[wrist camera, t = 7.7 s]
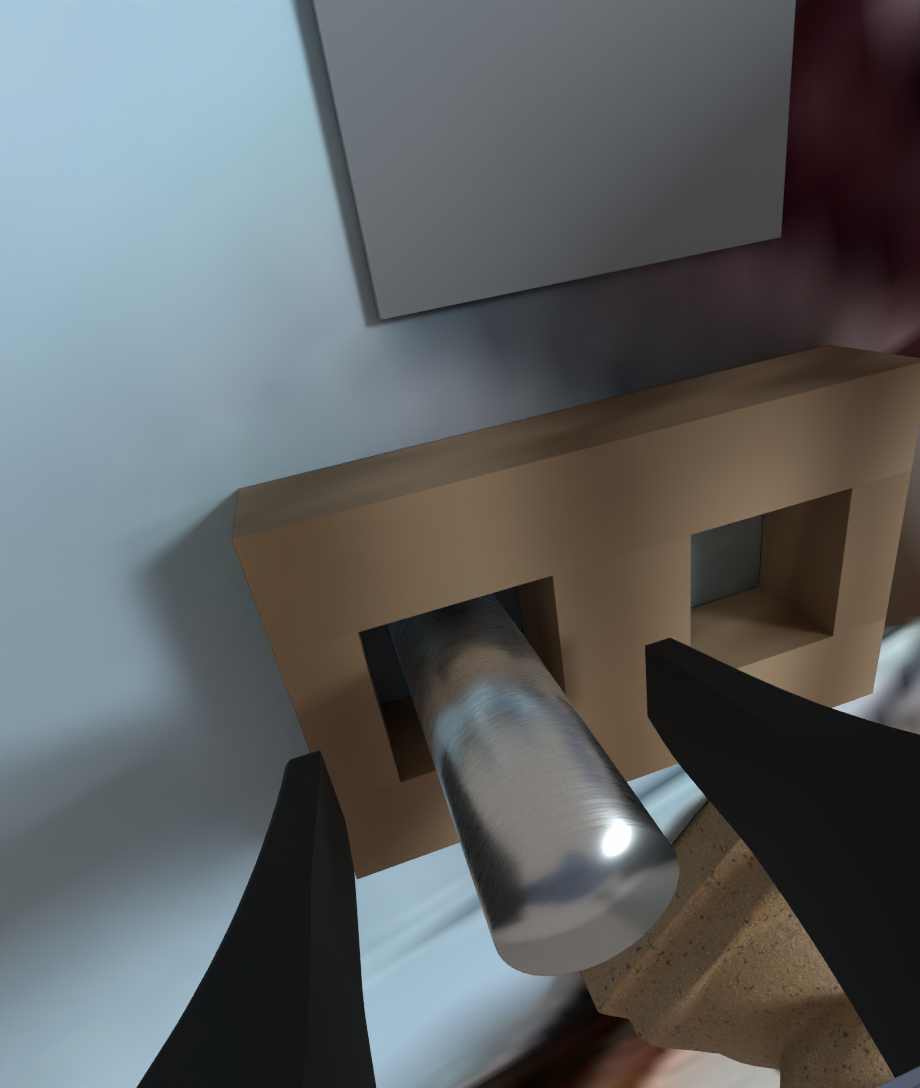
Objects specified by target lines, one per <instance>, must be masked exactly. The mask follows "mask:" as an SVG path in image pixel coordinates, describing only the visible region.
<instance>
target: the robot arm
mask: <svg viewBox="0 0 920 1088" xmlns="http://www.w3.org/2000/svg"><path fill="white" fill-rule="evenodd" d="M645 663H646V691H647V717H648V718H649V720H650V721H651V723H652V725H653V726H654V728H655V729H656V731H657V733H658V734H659V736H660V738H661V739H662V741H663V742H664V744H665V745H666V747H667V748H668V750H669V751H670V753H671V754H672V756H673V757H674V758H675V760H676V761H677V762H678V763H679V765H680V766H681V767H682V768H683V769H684V771H685V772H686V773H687V774H688V775H689V777H690V778H691V779H692V780H693V782H694V783H695V784H696V785H697V786H698V788H699V789H700V790H701V791H702V792H703V794H704V795H705V796H706V797H707V798H708V800H709V801H710V802H711V803H712V804H713V805H714V807H715V808H716V809H717V810H718V811H719V813H720V814H721V815H722V816H723V817H724V819H725V820H726V821H727V822H728V823H729V825H730V826H731V827H732V828H733V829H734V831H735V832H736V833H737V834H738V835H739V837H740V838H741V839H742V840H743V841H744V843H745V844H746V845H747V847H748V848H749V849H750V851H751V852H752V853H753V854H754V856H755V857H756V858H757V860H758V861H759V863H760V864H761V865H762V867H763V868H764V870H765V871H766V873H767V874H768V876H769V877H770V879H771V880H772V881H773V883H774V884H775V886H776V887H777V889H778V890H779V892H780V893H781V894H782V896H783V897H784V899H785V900H786V902H787V903H788V905H789V906H790V908H791V909H792V911H793V912H794V914H795V915H796V917H797V919H798V920H799V922H800V923H801V925H802V926H803V928H804V929H805V931H806V932H807V934H808V935H809V937H810V938H811V940H812V941H813V943H814V944H815V946H816V948H817V949H818V951H819V952H820V954H821V955H822V957H823V959H824V960H825V962H826V964H827V965H828V967H829V968H830V970H831V972H832V973H833V975H834V976H835V978H836V980H837V981H838V983H839V984H840V986H841V988H842V989H843V991H844V993H845V994H846V996H847V997H848V999H849V1001H850V1002H851V1004H852V1005H853V1007H854V1009H855V1011H856V1012H857V1014H858V1016H859V1017H860V1019H861V1021H862V1023H863V1024H864V1026H865V1028H866V1029H867V1031H868V1033H869V1034H870V1036H871V1038H872V1040H873V1041H874V1043H875V1045H876V1046H877V1048H878V1050H879V1052H880V1053H881V1055H882V1057H883V1058H884V1060H885V1062H886V1063H887V1065H888V1067H889V1069H890V1071H891V1072H892V1074H893V1076H894V1079H892V1080H890V1081H888V1082H886V1083H884V1084H882V1085H880V1086H878V1087H876V1088H920V735H919V734H915V733H911V732H907V731H904V730H900V729H896V728H892V727H889V726H885V725H882V724H878V723H875V722H872V721H869V720H866V719H862V718H859V717H856V716H853V715H850V714H847V713H844V712H841V711H838V710H835V709H832V708H829V707H827V706H824V705H821V704H818V703H816V702H813V701H811V700H808V699H806V698H803V697H801V696H798V695H796V694H793V693H791V692H788V691H786V690H783V689H781V688H779V687H776V686H774V685H771V684H769V683H767V682H765V681H762V680H760V679H758V678H756V677H753V676H751V675H749V674H747V673H745V672H742V671H740V670H738V669H736V668H734V667H732V666H730V665H727V664H725V663H723V662H721V661H719V660H717V659H715V658H713V657H711V656H709V655H706V654H704V653H702V652H700V651H698V650H696V649H694V648H692V647H690V646H688V645H685V644H683V643H681V642H679V641H677V640H674V639H672V638H667V639H664V640H661V641H657V642H654V643H651V644H648V645H645ZM137 1088H376V1083H375V1077H374V1070H373V1064H372V1057H371V1051H370V1044H369V1038H368V1031H367V1025H366V1018H365V1010H364V1001H363V991H362V978H361V962H360V947H359V932H358V917H357V902H356V888H355V874H354V866H353V860H352V854H351V848H350V843H349V837H348V832H347V826H346V821H345V818H344V815H343V812H342V809H341V807H340V804H339V801H338V798H337V795H336V793H335V790H334V787H333V784H332V782H331V779H330V776H329V773H328V770H327V768H326V765H325V762H324V759H323V756H322V754H321V751H320V750H319V751H316V752H313V753H309V754H306V755H303V756H300V757H297V758H294V759H291V760H289V762H288V763H287V765H286V768H285V772H284V777H283V781H282V784H281V788H280V792H279V796H278V799H277V803H276V806H275V809H274V812H273V816H272V819H271V822H270V825H269V828H268V831H267V834H266V836H265V839H264V842H263V845H262V848H261V851H260V854H259V856H258V859H257V862H256V864H255V867H254V869H253V872H252V874H251V877H250V879H249V882H248V884H247V886H246V889H245V891H244V894H243V896H242V899H241V901H240V903H239V906H238V908H237V910H236V912H235V915H234V917H233V919H232V921H231V923H230V926H229V928H228V930H227V932H226V934H225V936H224V938H223V940H222V942H221V944H220V946H219V948H218V950H217V952H216V954H215V956H214V958H213V960H212V962H211V964H210V966H209V968H208V970H207V971H206V973H205V975H204V977H203V979H202V981H201V982H200V984H199V986H198V988H197V990H196V992H195V993H194V995H193V997H192V999H191V1001H190V1002H189V1004H188V1006H187V1008H186V1009H185V1011H184V1013H183V1015H182V1016H181V1018H180V1020H179V1021H178V1023H177V1025H176V1026H175V1028H174V1030H173V1031H172V1033H171V1034H170V1036H169V1038H168V1039H167V1041H166V1042H165V1044H164V1045H163V1047H162V1049H161V1050H160V1052H159V1053H158V1055H157V1056H156V1058H155V1060H154V1061H153V1063H152V1064H151V1066H150V1067H149V1069H148V1071H147V1072H146V1074H145V1075H144V1077H143V1078H142V1080H141V1082H140V1083H139V1085H138V1086H137Z"/></svg>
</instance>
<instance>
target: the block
mask: <svg viewBox="0 0 920 1088" xmlns="http://www.w3.org/2000/svg"><path fill="white" fill-rule="evenodd" d="M919 423H920V358H914V357H907V356H900V355H893V354H887V353H880V352H873V351H866V350H860V349H853V348H846V347H840V346H833V345H826V346H822V347H818V348H814V349H810V350H806V351H802V352H797V353H793V354H789V355H785V356H781V357H777V358H773V359H769V360H765V361H761V362H757V363H752V364H748V365H744V366H740V367H736V368H732V369H728V370H724V371H720V372H716V373H712V374H707V375H703V376H699V377H695V378H691V379H687V380H683V381H679V382H675V383H671V384H666V385H662V386H658V387H654V388H650V389H646V390H642V391H638V392H634V393H630V394H626V395H621V396H617V397H613V398H609V399H605V400H601V401H597V402H593V403H589V404H585V405H581V406H576V407H572V408H568V409H564V410H560V411H556V412H552V413H548V414H544V415H540V416H535V417H531V418H527V419H523V420H519V421H515V422H511V423H507V424H503V425H499V426H495V427H490V428H486V429H482V430H478V431H474V432H470V433H466V434H462V435H458V436H454V437H450V438H445V439H441V440H437V441H433V442H429V443H425V444H421V445H417V446H413V447H409V448H405V449H400V450H396V451H392V452H388V453H384V454H380V455H376V456H372V457H368V458H364V459H359V460H355V461H351V462H347V463H343V464H339V465H335V466H331V467H327V468H323V469H319V470H314V471H310V472H306V473H302V474H298V475H294V476H290V477H286V478H282V479H278V480H274V481H269V482H265V483H261V484H257V485H253V486H249V487H245V488H241V489H239V492H238V499H237V506H236V513H235V520H234V527H233V534H232V542H233V545H234V548H235V550H236V553H237V556H238V558H239V561H240V564H241V566H242V569H243V572H244V575H245V577H246V580H247V583H248V585H249V588H250V591H251V594H252V596H253V599H254V602H255V604H256V607H257V610H258V612H259V615H260V618H261V621H262V623H263V626H264V629H265V631H266V634H267V637H268V639H269V642H270V645H271V648H272V650H273V653H274V656H275V658H276V661H277V664H278V666H279V669H280V672H281V675H282V677H283V680H284V683H285V685H286V688H287V691H288V694H289V696H290V699H291V702H292V704H293V707H294V710H295V712H296V715H297V718H298V721H299V723H300V726H301V729H302V731H303V734H304V737H305V739H306V742H307V745H308V748H309V750H310V753H313V752H316V751H319V750H320V751H321V754H322V756H323V759H324V762H325V765H326V768H327V770H328V773H329V776H330V779H331V782H332V784H333V787H334V790H335V793H336V795H337V798H338V801H339V804H340V807H341V809H342V812H343V815H344V818H345V821H346V826H347V832H348V837H349V843H350V848H351V854H352V860H353V866H354V872H355V875H356V877H357V879H359V878H362V877H365V876H368V875H371V874H373V873H376V872H379V871H382V870H384V869H387V868H390V867H393V866H395V865H398V864H401V863H404V862H407V861H409V860H412V859H415V858H418V857H420V856H423V855H426V854H429V853H431V852H434V851H437V850H440V849H443V848H445V847H448V846H451V845H454V844H456V843H459V842H460V840H459V837H458V834H457V832H456V829H455V826H454V823H453V820H452V817H451V814H450V811H449V808H448V805H447V802H446V799H445V796H444V793H443V790H442V787H441V784H440V781H439V778H438V775H437V772H436V769H435V766H434V763H433V760H432V757H431V754H430V751H429V748H428V745H427V742H426V739H425V736H424V733H423V730H422V727H421V724H420V721H419V718H418V715H417V712H416V709H415V706H414V703H413V700H412V697H408V698H405V699H402V700H398V701H395V702H392V703H389V704H386V705H382V706H381V702H380V699H379V695H378V692H377V688H376V685H375V681H374V678H373V674H372V671H371V668H370V664H369V661H368V657H367V654H366V650H365V647H364V643H363V640H362V636H361V633H360V632H361V631H364V630H368V629H371V628H375V627H378V626H381V625H385V624H388V623H392V622H395V621H399V620H402V619H405V618H409V617H412V616H416V615H419V614H423V613H426V612H429V611H433V610H436V609H440V608H443V607H446V606H450V605H453V604H457V603H460V602H464V601H467V600H470V599H474V598H477V597H481V596H484V595H487V594H491V593H494V592H498V591H501V590H505V589H508V588H511V587H515V586H517V591H518V598H519V605H520V612H521V619H522V626H523V633H524V637H525V638H526V640H527V641H528V643H529V644H530V645H531V647H532V648H533V650H534V651H535V653H536V654H537V655H538V657H539V658H540V660H541V661H542V662H543V664H544V665H545V667H546V668H547V670H548V671H549V672H550V674H551V675H552V677H553V678H554V680H555V681H556V682H557V684H558V685H559V687H560V688H561V689H562V691H563V692H564V694H565V695H566V697H567V698H568V699H569V701H570V702H571V704H572V705H573V707H574V708H575V709H576V711H577V712H578V714H579V715H580V716H581V718H582V719H583V721H584V722H585V724H586V725H587V726H588V728H589V729H590V731H591V732H592V734H593V735H594V736H595V738H596V739H597V741H598V742H599V743H600V745H601V746H602V748H603V749H604V751H605V752H606V753H607V755H608V756H609V758H610V759H611V761H612V762H613V763H614V765H615V766H616V768H617V769H618V770H619V772H620V773H621V775H622V776H623V778H624V779H625V780H626V782H628V781H631V780H634V779H636V778H639V777H642V776H645V775H647V774H650V773H653V772H656V771H658V770H661V769H664V768H667V767H669V766H672V765H675V764H678V762H677V761H676V760H675V758H674V757H673V756H672V754H671V753H670V751H669V750H668V748H667V747H666V745H665V744H664V742H663V741H662V739H661V738H660V736H659V734H658V733H657V731H656V729H655V728H654V726H653V725H652V723H651V721H650V720H649V718H648V717H647V691H646V663H645V645H648V644H651V643H654V642H657V641H661V640H664V639H667V638H672V639H674V640H677V641H679V642H681V643H683V644H685V645H688V646H690V647H692V648H694V649H696V650H698V651H700V652H702V653H704V654H706V655H709V656H711V657H713V658H715V659H717V660H719V661H721V662H723V663H725V664H727V665H730V666H732V667H734V668H736V669H738V670H740V671H742V672H745V673H747V674H749V675H751V676H753V677H756V678H758V679H760V680H762V681H765V682H767V683H769V684H771V685H774V686H776V687H779V688H781V689H783V690H786V691H788V692H791V693H793V694H796V695H798V696H801V697H803V698H806V699H808V700H811V701H813V702H816V703H818V704H821V705H824V706H827V707H829V708H833V707H836V706H838V705H841V704H844V703H847V702H849V701H852V700H855V699H858V698H860V697H863V696H866V695H869V694H872V693H873V688H874V682H875V676H876V670H877V665H878V659H879V653H880V647H881V642H882V636H883V630H884V624H885V619H886V613H887V607H888V601H889V595H890V590H891V584H892V578H893V572H894V567H895V560H896V555H897V549H898V544H899V537H900V532H901V526H902V521H903V515H904V509H905V503H906V498H907V492H908V486H909V480H910V474H911V469H912V463H913V457H914V451H915V445H916V440H917V434H918V428H919ZM761 514H764V519H763V535H762V551H761V567H760V583H759V587H757V588H754V589H751V590H748V591H744V592H741V593H738V594H735V595H732V596H729V597H725V598H722V599H719V600H716V601H713V602H709V603H706V604H703V605H700V606H697V607H694V608H691V535H693V534H696V533H699V532H703V531H706V530H710V529H713V528H717V527H720V526H723V525H727V524H730V523H734V522H737V521H741V520H744V519H747V518H751V517H754V516H758V515H761Z"/></svg>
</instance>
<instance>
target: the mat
mask: <svg viewBox="0 0 920 1088" xmlns="http://www.w3.org/2000/svg"><path fill="white" fill-rule="evenodd" d="M312 5H313V10H314V15H315V19H316V24H317V29H318V34H319V38H320V43H321V48H322V52H323V57H324V62H325V67H326V71H327V76H328V81H329V85H330V90H331V95H332V100H333V104H334V109H335V114H336V118H337V123H338V128H339V133H340V137H341V142H342V147H343V152H344V156H345V161H346V166H347V170H348V175H349V180H350V185H351V189H352V194H353V199H354V203H355V208H356V213H357V218H358V222H359V227H360V232H361V236H362V241H363V246H364V251H365V255H366V260H367V265H368V270H369V274H370V279H371V284H372V288H373V293H374V298H375V303H376V307H377V312H378V317H379V319H381V320H382V319H387V318H392V317H397V316H402V315H406V314H411V313H416V312H421V311H426V310H431V309H435V308H440V307H445V306H450V305H455V304H460V303H464V302H469V301H474V300H479V299H484V298H489V297H494V296H498V295H503V294H508V293H513V292H518V291H523V290H527V289H532V288H537V287H542V286H547V285H552V284H556V283H561V282H566V281H571V280H576V279H581V278H586V277H590V276H595V275H600V274H605V273H610V272H615V271H619V270H624V269H629V268H634V267H639V266H644V265H648V264H653V263H658V262H663V261H668V260H673V259H678V258H682V257H687V256H692V255H697V254H702V253H707V252H711V251H716V250H721V249H726V248H731V247H736V246H740V245H745V244H750V243H755V242H760V241H765V240H770V239H774V238H779V237H781V230H782V214H783V198H784V182H785V166H786V150H787V133H788V117H789V101H790V85H791V69H792V53H793V37H794V21H795V5H796V0H312Z"/></svg>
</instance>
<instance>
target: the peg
mask: <svg viewBox="0 0 920 1088" xmlns="http://www.w3.org/2000/svg"><path fill="white" fill-rule="evenodd" d="M388 627H389V631H390V634H391V637H392V640H393V643H394V646H395V649H396V652H397V655H398V658H399V661H400V664H401V667H402V670H403V673H404V676H405V679H406V682H407V685H408V688H409V691H410V694H411V697H412V700H413V703H414V706H415V709H416V712H417V715H418V718H419V721H420V724H421V727H422V730H423V733H424V736H425V739H426V742H427V745H428V748H429V751H430V754H431V757H432V760H433V763H434V766H435V769H436V772H437V775H438V778H439V781H440V784H441V787H442V790H443V793H444V796H445V799H446V802H447V805H448V808H449V811H450V814H451V817H452V820H453V823H454V826H455V829H456V832H457V834H458V837H459V840H460V843H461V846H462V849H463V852H464V855H465V858H466V861H467V864H468V867H469V870H470V873H471V876H472V879H473V882H474V885H475V888H476V891H477V894H478V897H479V900H480V903H481V906H482V909H483V912H484V915H485V918H486V921H487V924H488V927H489V930H490V933H491V936H492V939H493V942H494V945H495V947H496V950H497V952H498V954H499V955H500V957H501V958H502V959H503V961H505V962H506V963H507V964H508V965H509V966H511V967H512V968H514V969H516V970H518V971H521V972H523V973H527V974H531V975H538V976H557V975H564V974H570V973H574V972H578V971H581V970H585V969H588V968H590V967H593V966H595V965H598V964H600V963H602V962H604V961H606V960H608V959H610V958H612V957H614V956H616V955H617V954H619V953H621V952H622V951H624V950H625V949H627V948H628V947H630V946H631V945H632V944H634V943H635V942H636V941H637V940H639V939H640V938H641V937H642V936H643V935H644V934H645V933H646V932H647V931H648V930H649V929H651V927H652V926H653V925H654V924H655V923H656V922H657V921H658V920H659V918H660V917H661V915H662V914H663V913H664V911H665V910H666V908H667V907H668V905H669V903H670V902H671V899H672V897H673V895H674V893H675V890H676V887H677V884H678V878H679V863H678V858H677V855H676V853H675V850H674V849H673V847H672V846H671V844H670V843H669V842H668V840H667V839H666V837H665V836H664V834H663V833H662V832H661V830H660V829H659V827H658V826H657V824H656V823H655V822H654V820H653V819H652V817H651V816H650V815H649V813H648V812H647V810H646V809H645V807H644V806H643V805H642V803H641V802H640V800H639V799H638V797H637V796H636V795H635V793H634V792H633V790H632V789H631V788H630V786H629V785H628V783H627V782H626V780H625V779H624V778H623V776H622V775H621V773H620V772H619V770H618V769H617V768H616V766H615V765H614V763H613V762H612V761H611V759H610V758H609V756H608V755H607V753H606V752H605V751H604V749H603V748H602V746H601V745H600V743H599V742H598V741H597V739H596V738H595V736H594V735H593V734H592V732H591V731H590V729H589V728H588V726H587V725H586V724H585V722H584V721H583V719H582V718H581V716H580V715H579V714H578V712H577V711H576V709H575V708H574V707H573V705H572V704H571V702H570V701H569V699H568V698H567V697H566V695H565V694H564V692H563V691H562V689H561V688H560V687H559V685H558V684H557V682H556V681H555V680H554V678H553V677H552V675H551V674H550V672H549V671H548V670H547V668H546V667H545V665H544V664H543V662H542V661H541V660H540V658H539V657H538V655H537V654H536V653H535V651H534V650H533V648H532V647H531V645H530V644H529V643H528V641H527V640H526V638H525V637H524V635H523V634H522V633H521V631H520V630H519V628H518V627H517V626H516V624H515V623H514V621H513V620H512V618H511V617H510V616H509V614H508V613H507V611H506V610H505V608H504V607H503V606H502V604H501V603H500V601H499V600H498V599H497V597H496V596H495V594H494V593H491V594H487V595H484V596H481V597H477V598H474V599H470V600H467V601H464V602H460V603H457V604H453V605H450V606H446V607H443V608H440V609H436V610H433V611H429V612H426V613H423V614H419V615H416V616H412V617H409V618H405V619H402V620H399V621H395V622H392V623H388Z"/></svg>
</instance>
